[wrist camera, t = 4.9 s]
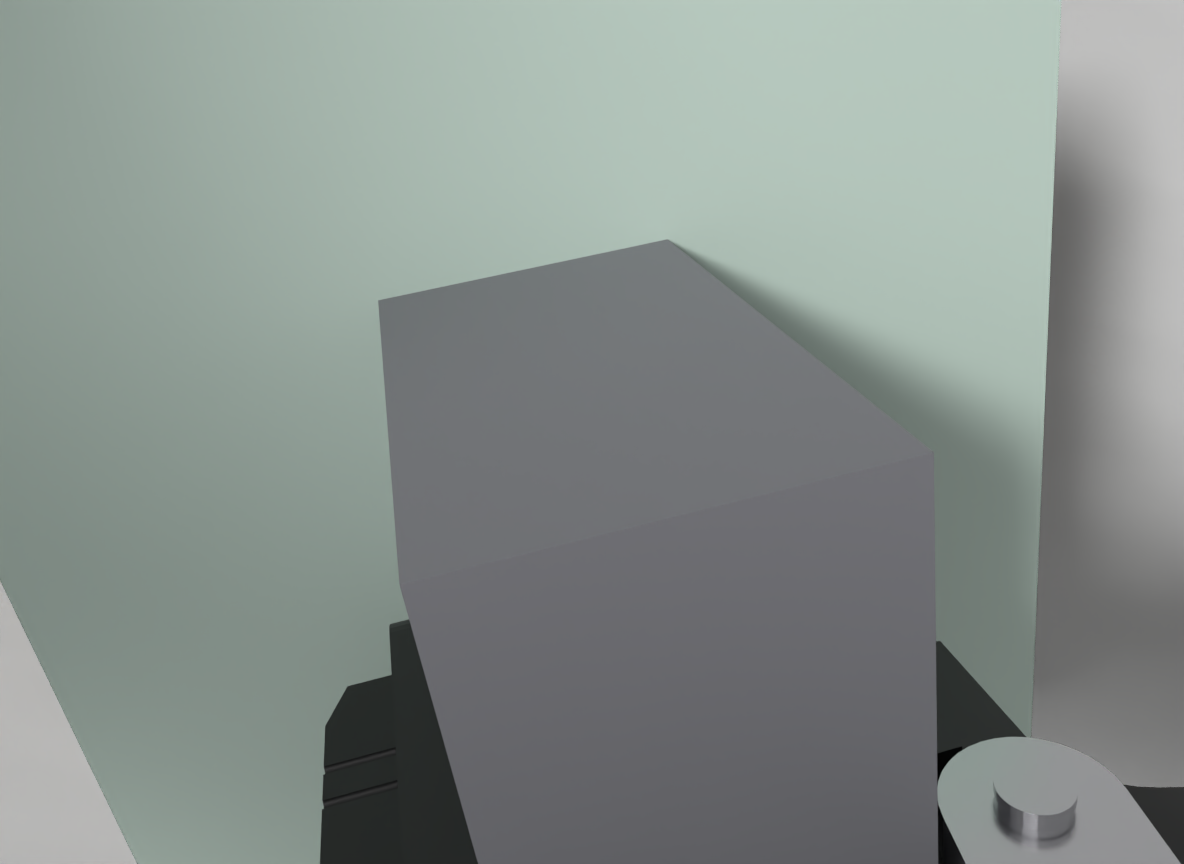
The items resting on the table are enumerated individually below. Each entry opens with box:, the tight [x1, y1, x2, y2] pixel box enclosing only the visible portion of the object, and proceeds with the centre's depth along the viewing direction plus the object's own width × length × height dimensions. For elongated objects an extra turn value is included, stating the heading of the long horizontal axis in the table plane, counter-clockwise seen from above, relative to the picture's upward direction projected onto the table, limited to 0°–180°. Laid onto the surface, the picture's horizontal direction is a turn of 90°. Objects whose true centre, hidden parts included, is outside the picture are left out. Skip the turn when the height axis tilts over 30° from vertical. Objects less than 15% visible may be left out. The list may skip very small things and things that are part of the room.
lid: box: [0, 0, 1061, 864], centre depth 10 cm, size 15×11×7 cm
